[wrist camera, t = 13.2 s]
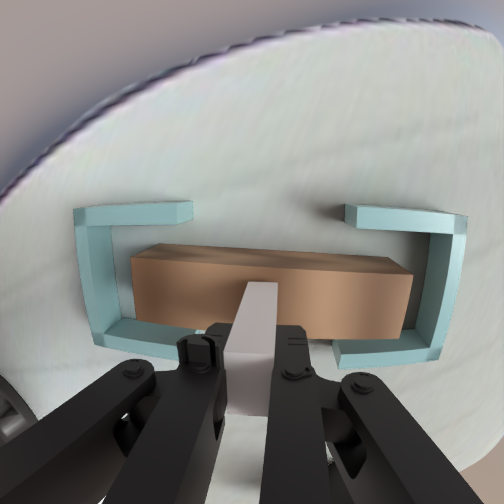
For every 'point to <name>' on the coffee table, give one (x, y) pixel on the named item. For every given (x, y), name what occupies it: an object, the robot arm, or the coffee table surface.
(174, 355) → the teal staple arch
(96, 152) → the coffee table surface
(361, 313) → the slat
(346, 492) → the mug
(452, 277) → the cap
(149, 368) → the robot arm
